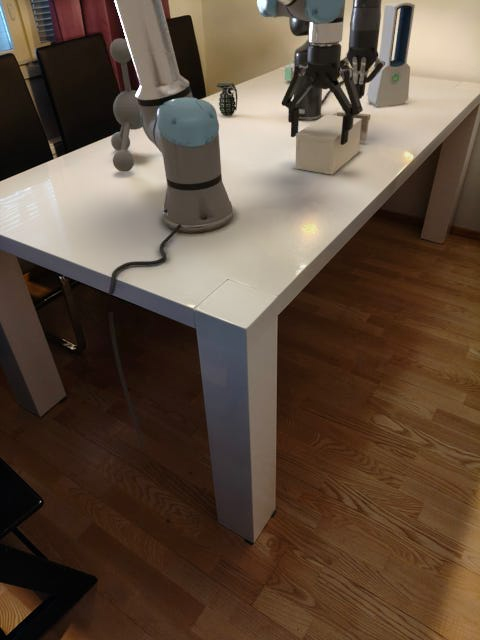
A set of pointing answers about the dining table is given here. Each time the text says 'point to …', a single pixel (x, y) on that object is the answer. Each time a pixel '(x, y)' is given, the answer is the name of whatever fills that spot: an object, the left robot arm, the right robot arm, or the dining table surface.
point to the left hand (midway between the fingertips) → (318, 139)
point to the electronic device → (396, 73)
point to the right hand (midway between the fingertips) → (358, 98)
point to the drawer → (364, 124)
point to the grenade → (227, 99)
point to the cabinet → (326, 145)
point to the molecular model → (124, 109)
